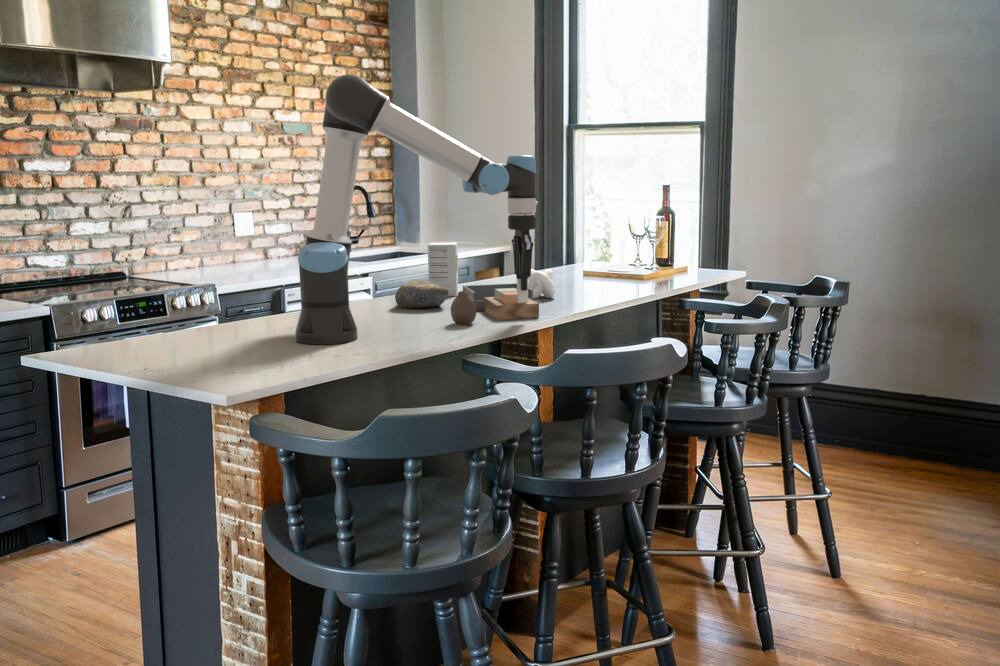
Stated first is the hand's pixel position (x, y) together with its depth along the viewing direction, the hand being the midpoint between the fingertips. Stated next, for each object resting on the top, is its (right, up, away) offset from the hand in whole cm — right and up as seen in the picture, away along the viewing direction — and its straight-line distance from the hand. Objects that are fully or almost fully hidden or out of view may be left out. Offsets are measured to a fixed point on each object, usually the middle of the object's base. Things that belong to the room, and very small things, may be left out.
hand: (522, 301), depth 247 cm
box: (-7, 0, +29) cm, 29 cm away
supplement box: (-25, +4, +54) cm, 59 cm away
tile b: (-4, +2, +16) cm, 17 cm away
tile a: (-2, 0, +10) cm, 10 cm away
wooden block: (-3, -3, +13) cm, 14 cm away
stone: (-30, -1, +28) cm, 41 cm away
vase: (-16, -6, -1) cm, 17 cm away
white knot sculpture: (+7, +3, +44) cm, 45 cm away
